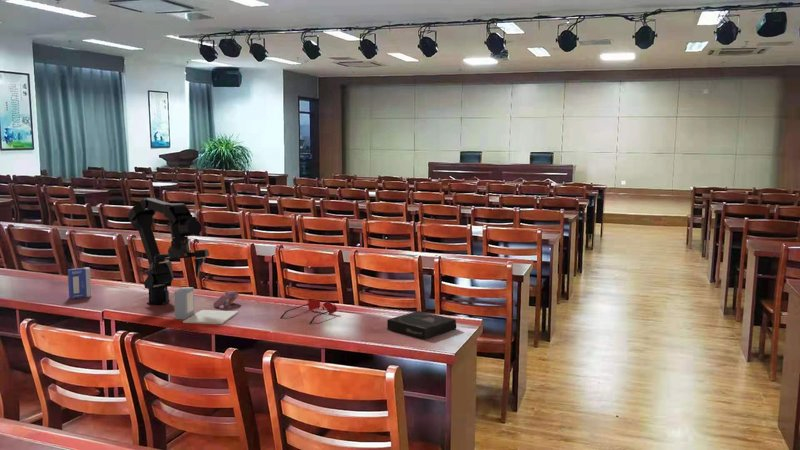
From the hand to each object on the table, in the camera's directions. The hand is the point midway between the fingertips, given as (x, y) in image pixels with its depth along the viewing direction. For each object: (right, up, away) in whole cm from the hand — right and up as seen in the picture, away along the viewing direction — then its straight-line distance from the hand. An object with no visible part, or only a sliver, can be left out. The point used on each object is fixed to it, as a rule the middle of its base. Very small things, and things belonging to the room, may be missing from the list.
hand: (184, 278), depth 233 cm
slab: (+2, -13, -7) cm, 15 cm away
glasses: (+47, -14, -5) cm, 49 cm away
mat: (+12, -13, -8) cm, 20 cm away
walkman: (-49, -9, +20) cm, 54 cm away
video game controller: (+13, -11, +10) cm, 20 cm away
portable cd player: (+88, -16, -20) cm, 91 cm away
